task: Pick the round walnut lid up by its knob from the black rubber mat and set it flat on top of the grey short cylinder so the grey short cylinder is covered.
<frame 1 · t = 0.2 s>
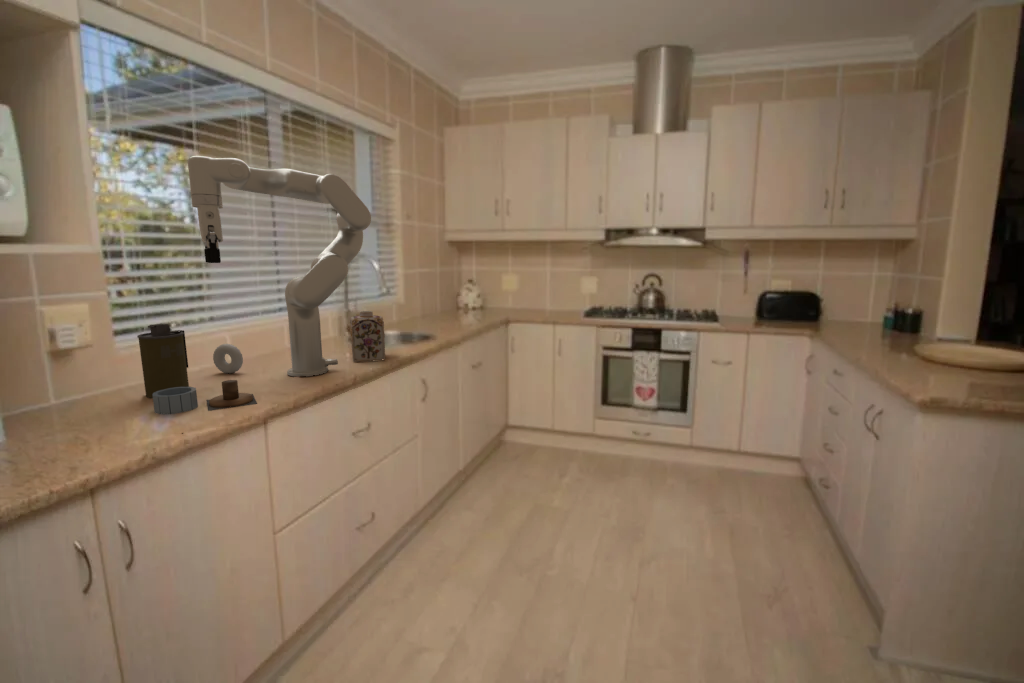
hand: (213, 262, 145), 36 cm above the countertop, tool pointing down, fingers open, 9 cm apart
decorative jar: (368, 359, 187), on the countertop
lid: (231, 401, 130), point 1 cm above the countertop, touching mat
donut: (229, 374, 163), on the countertop
canister: (169, 395, 138), on the countertop
mat: (231, 403, 130), on the countertop
grey short cylinder: (177, 410, 124), on the countertop
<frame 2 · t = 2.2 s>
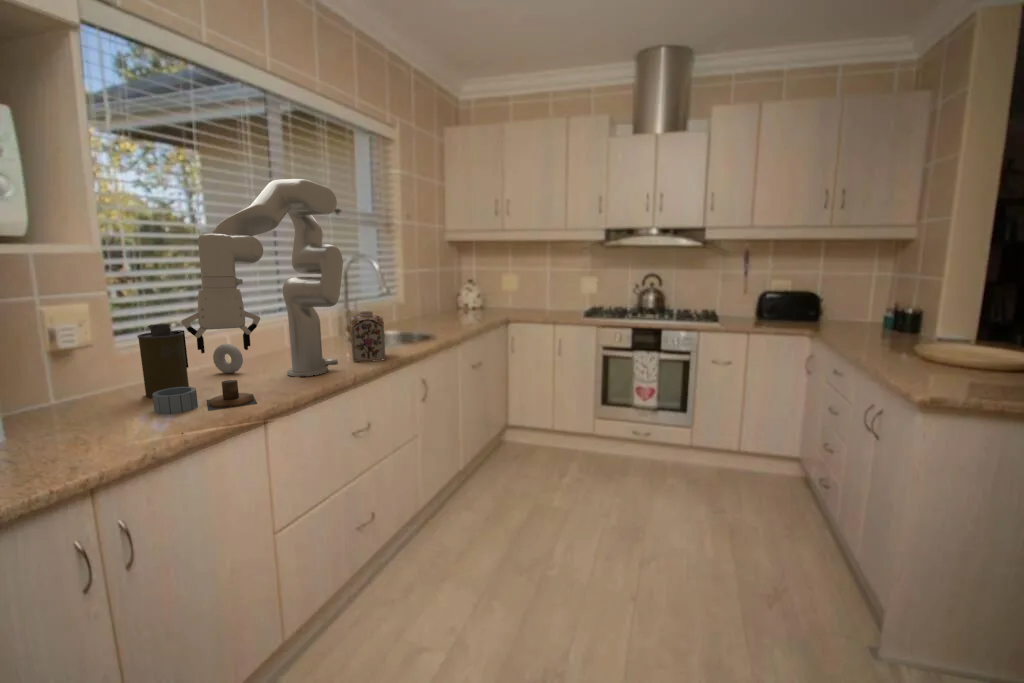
hand: (224, 350, 127), 14 cm above the countertop, tool pointing down, fingers open, 9 cm apart
nothing on the countertop moved.
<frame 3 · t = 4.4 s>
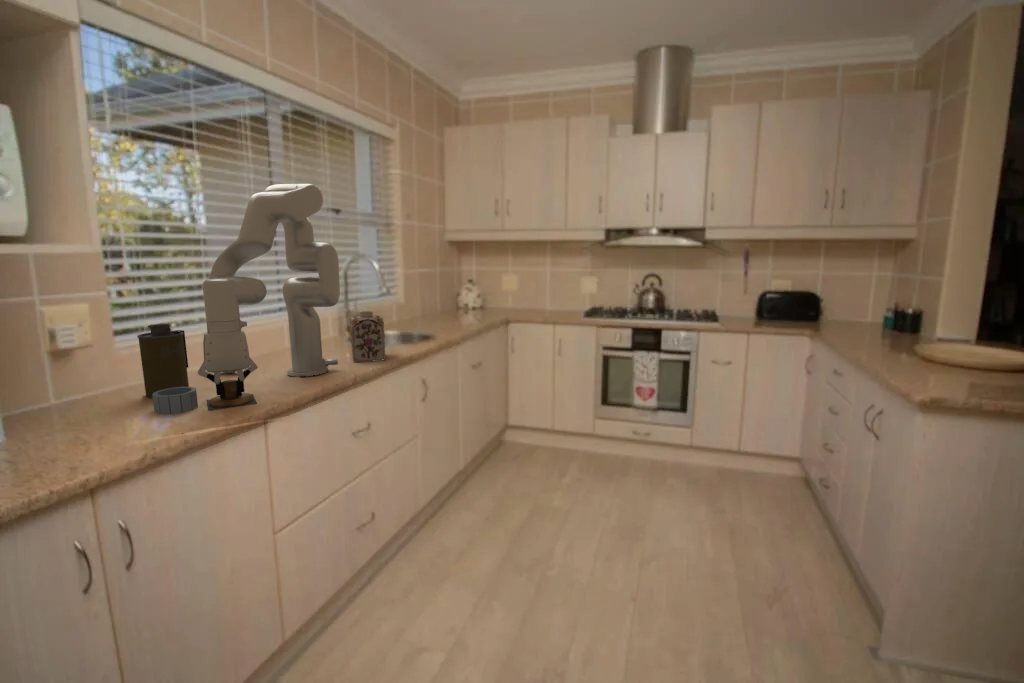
hand: (230, 395, 130), 2 cm above the countertop, tool pointing down, fingers closed on lid, 3 cm apart
lid: (231, 401, 130), point 1 cm above the countertop, touching gripper, mat
everything else where it was.
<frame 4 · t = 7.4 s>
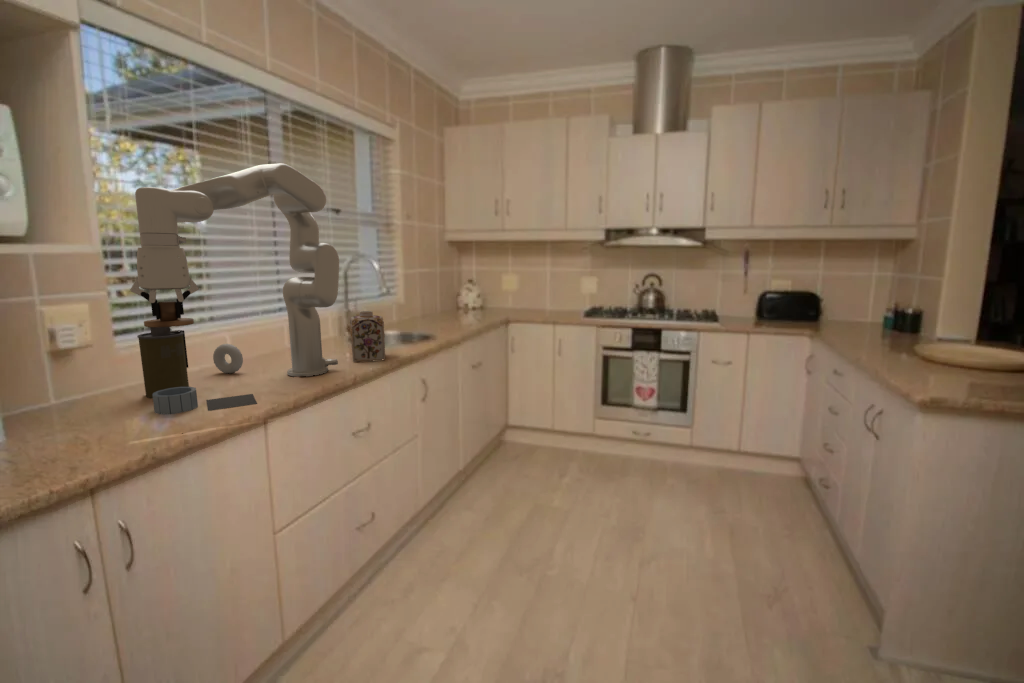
hand: (168, 317, 121), 24 cm above the countertop, tool pointing down, fingers closed on lid, 3 cm apart
lid: (169, 324, 121), point 22 cm above the countertop, touching gripper
everything else where it was.
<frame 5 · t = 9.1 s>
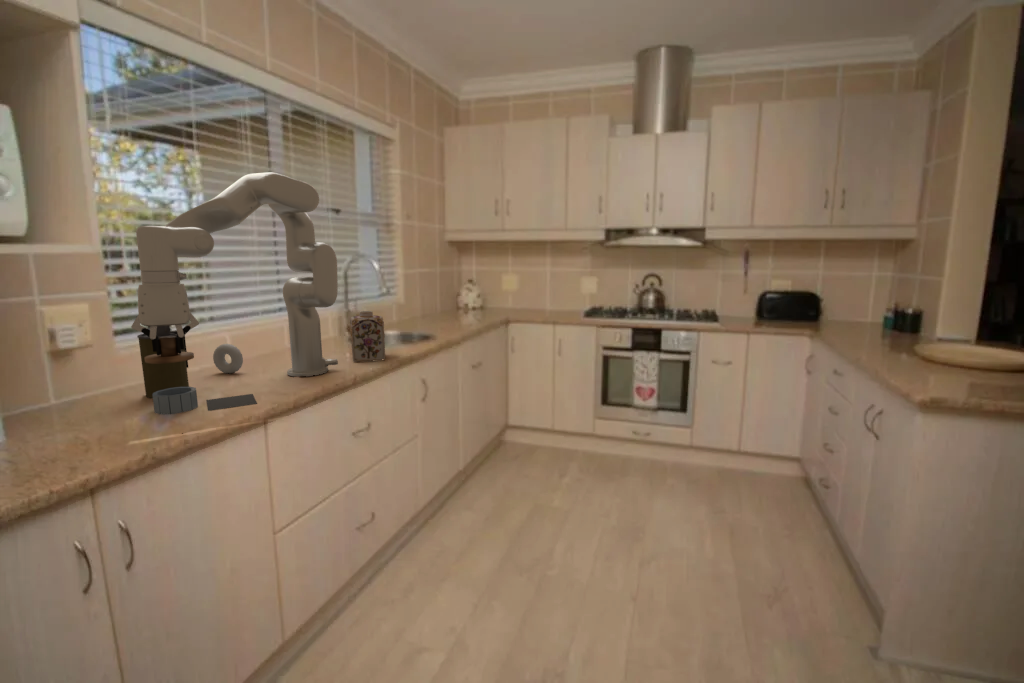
hand: (169, 352, 122), 15 cm above the countertop, tool pointing down, fingers closed on lid, 3 cm apart
lid: (170, 359, 122), point 13 cm above the countertop, touching gripper
everything else where it was.
when the fingers open (8 cm above the countertop, at t = 10.6 s): lid drops 2 cm, resting on grey short cylinder.
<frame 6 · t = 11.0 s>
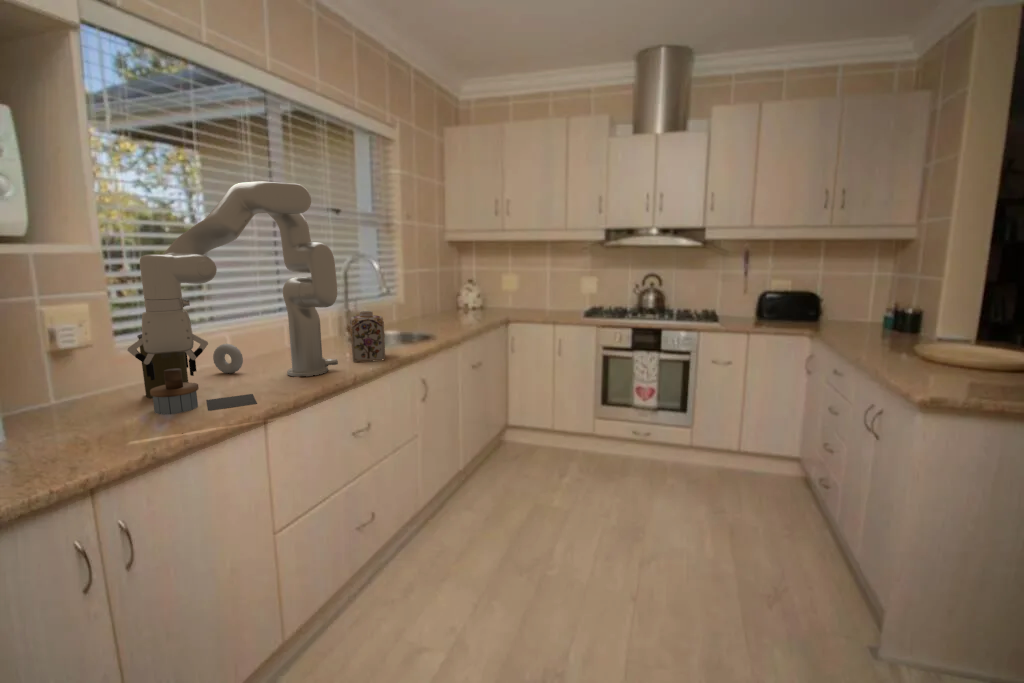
hand: (172, 376, 123), 9 cm above the countertop, tool pointing down, fingers open, 7 cm apart
lid: (175, 391, 124), point 5 cm above the countertop, touching grey short cylinder
everything else where it was.
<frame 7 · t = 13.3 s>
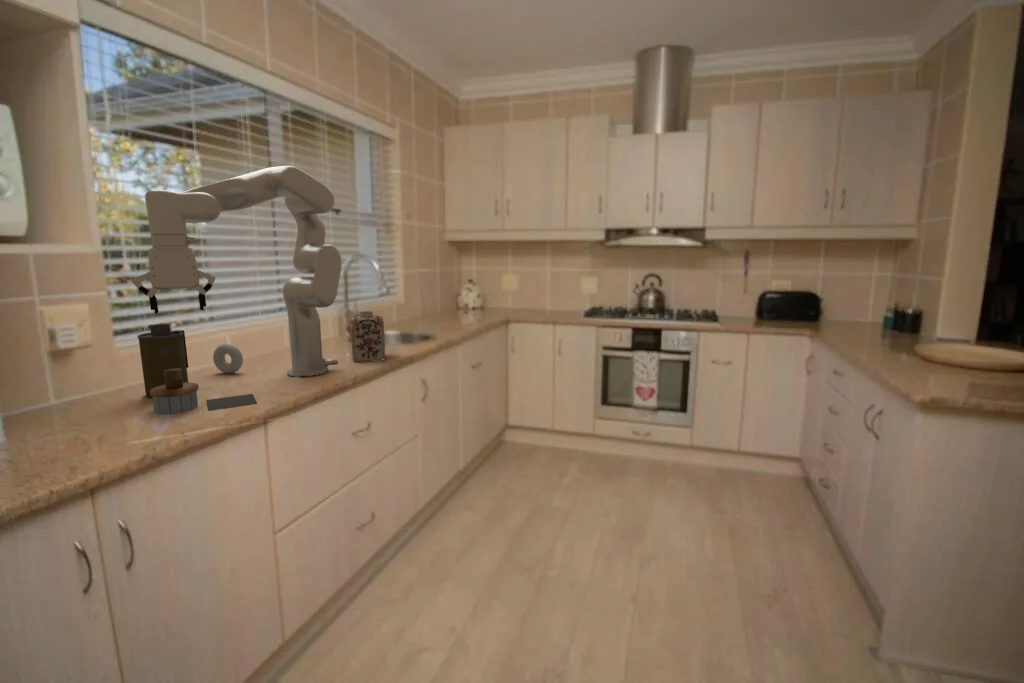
hand: (179, 311, 126), 25 cm above the countertop, tool pointing down, fingers open, 9 cm apart
nothing on the countertop moved.
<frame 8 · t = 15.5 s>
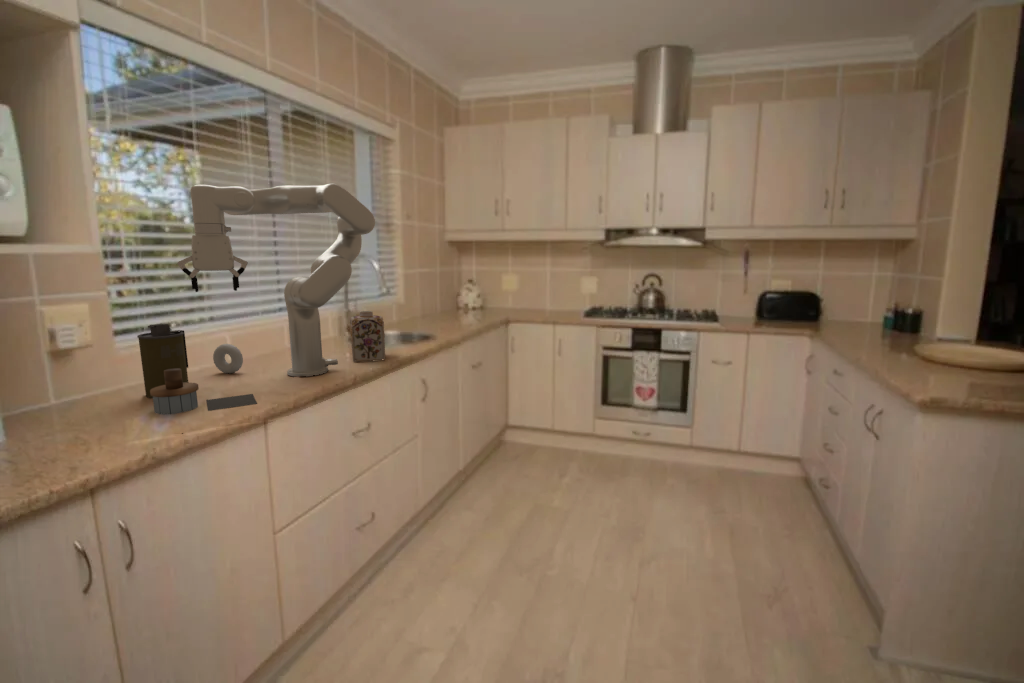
hand: (216, 291, 143), 28 cm above the countertop, tool pointing down, fingers open, 9 cm apart
nothing on the countertop moved.
at the end: lid 0.1 cm off-centre on the grey short cylinder, point 5.0 cm above the grey short cylinder's base; lid tilted 0°; the gripper is holding nothing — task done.
